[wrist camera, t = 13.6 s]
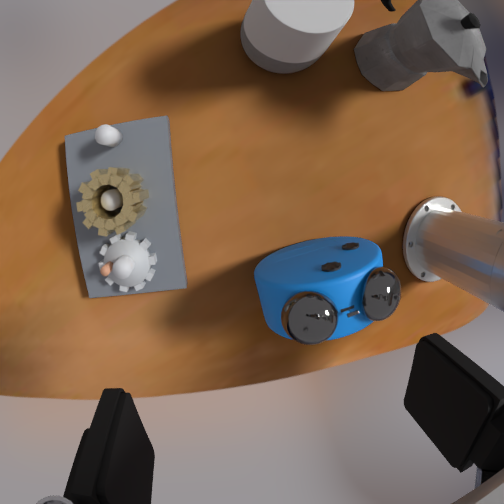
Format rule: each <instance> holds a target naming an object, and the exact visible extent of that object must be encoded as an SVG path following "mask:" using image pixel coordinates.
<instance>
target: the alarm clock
mask: <svg viewBox="0 0 504 504" xmlns="http://www.w3.org/2000/svg"><path fill="white" fill-rule="evenodd" d="M254 278H255V282H256V286H257V290H258V294H259V298H260V302H261V306H262V310H263V314H264V318H265V321H266V323H267V325H268V326H269V328H270V329H271V330H272V331H274V332H275V333H277V334H278V335H280V336H282V337H285V338H288V339H292V340H294V341H296V342H298V343H301V344H305V345H314V344H319V343H322V342H324V341H326V340H332V339H337V338H341V337H344V336H348V335H350V334H353V333H355V332H357V331H360V330H361V329H363V328H365V327H367V326H368V325H369V324H371V323H372V322H373V321H382V320H384V319H386V318H388V317H389V316H391V315H392V314H393V313H394V312H395V310H396V308H397V307H398V305H399V302H400V299H401V284H400V281H399V279H398V276H397V275H396V274H395V273H394V271H392V270H391V269H389V268H386V267H383V259H382V252H381V249H380V248H379V246H378V245H377V244H375V243H374V242H372V241H369V240H367V239H363V238H358V237H327V238H320V239H314V240H309V241H304V242H300V243H297V244H294V245H290V246H288V247H285V248H282V249H280V250H278V251H276V252H274V253H272V254H270V255H268V256H267V257H265V258H264V259H263V260H262V261H261V262H259V264H258V265H257V266H256V268H255V271H254Z"/></svg>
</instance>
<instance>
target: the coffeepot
mask: <svg viewBox="0 0 504 504" xmlns="http://www.w3.org/2000/svg"><path fill="white" fill-rule="evenodd" d="M381 2H382V3H383V5H384V6H385V7H386V8H387V9H388V10H389V11H395V9H394V7H393V6H392V4H391V0H381ZM479 28H480V23H479V20H478V18H477V17H476V16H475V15H474V14H472V13H469V12H468V11H467V10H466V9H465V8H464V7H463V6H462V5H461V3H460V2H458V0H418V1H417V2H416V3H415V4H414V5H413V6H412V7H411V8H410V9H409V10H408V11H407V12H406V13H405V14H404V15H403V16H402V17H401V18H400V20H399V21H398V23H397V24H389V25H386V26H383V27H380V28H377V29H375V30H372V31H369V32H366V33H364V35H363V36H362V38H361V39H360V40H359V42H358V44H357V45H356V47H355V48H354V52H355V57H356V61H357V64H358V67H359V69H360V71H361V74H362V75H363V76H364V77H365V78H366V79H367V80H368V81H369V82H370V83H372V84H373V85H375V86H376V87H378V88H379V89H380V90H382V91H395V90H404V89H405V88H407V87H408V86H410V85H411V84H413V83H414V82H416V81H417V80H419V79H420V78H422V77H423V76H425V75H426V73H427V72H446V71H453V72H456V73H458V74H461V75H463V76H465V77H468V78H470V79H472V80H474V81H476V82H478V83H479V84H480V85H481V86H482V87H484V86H485V85H486V84H487V81H488V78H487V71H486V67H485V64H484V60H483V59H484V55H485V52H486V47H485V44H484V41H483V38H482V36H481V33H480V30H479Z"/></svg>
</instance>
